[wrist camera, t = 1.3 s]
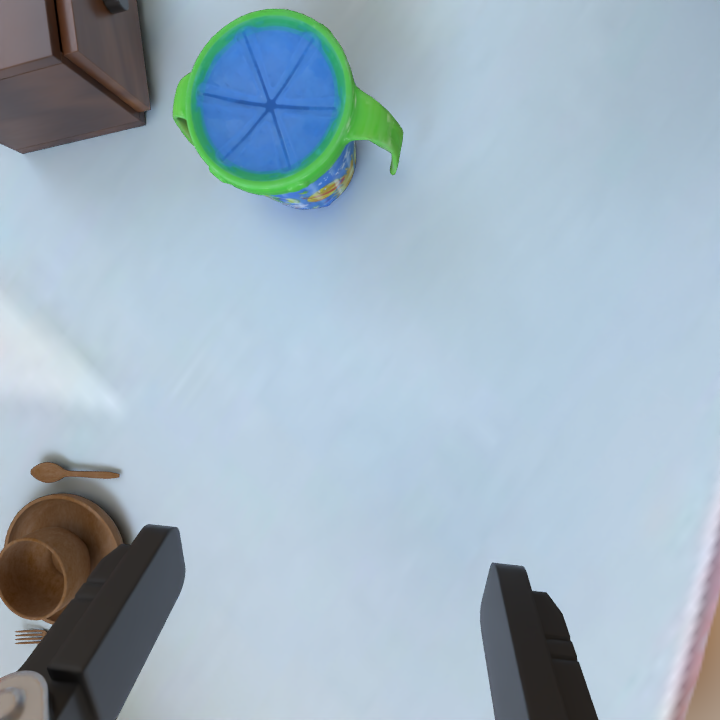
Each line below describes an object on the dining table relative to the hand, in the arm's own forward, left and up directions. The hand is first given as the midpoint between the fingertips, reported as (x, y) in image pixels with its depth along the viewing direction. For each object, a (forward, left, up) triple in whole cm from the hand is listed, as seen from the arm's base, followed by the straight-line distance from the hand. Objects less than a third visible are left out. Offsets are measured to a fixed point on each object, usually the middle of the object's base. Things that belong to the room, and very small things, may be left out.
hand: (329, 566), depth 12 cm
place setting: (+26, -26, -25) cm, 45 cm away
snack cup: (-16, -15, -25) cm, 33 cm away
